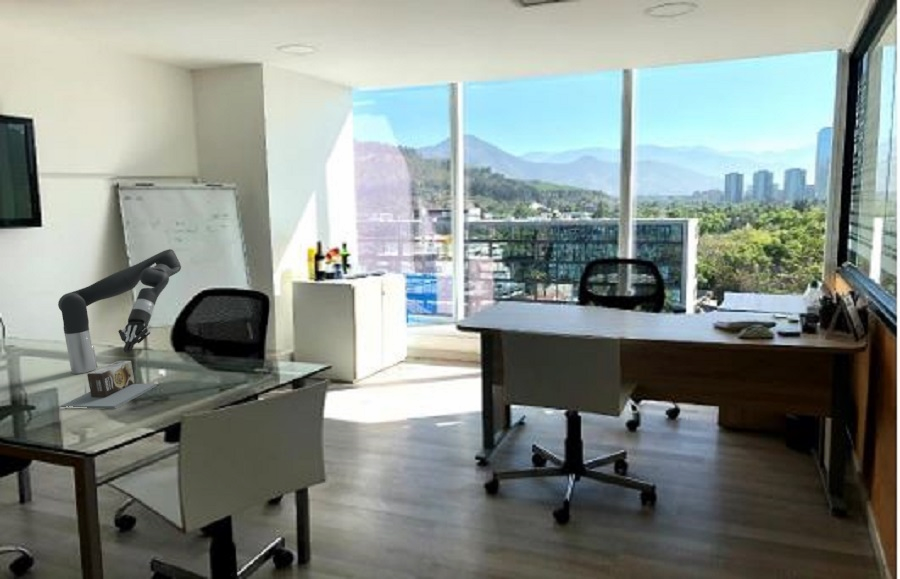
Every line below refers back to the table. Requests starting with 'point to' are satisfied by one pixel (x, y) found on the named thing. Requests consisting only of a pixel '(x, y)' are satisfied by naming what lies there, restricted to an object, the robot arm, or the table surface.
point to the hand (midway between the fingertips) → (126, 352)
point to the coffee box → (110, 379)
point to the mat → (111, 397)
